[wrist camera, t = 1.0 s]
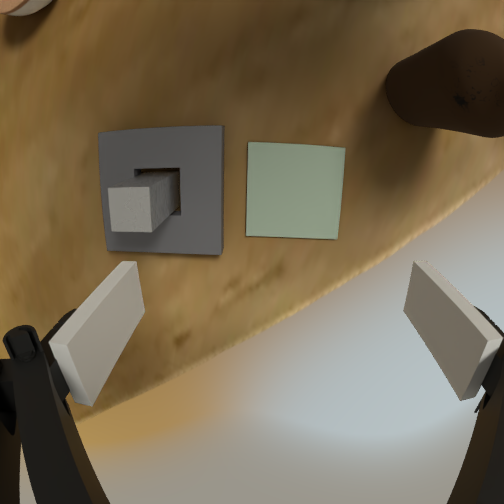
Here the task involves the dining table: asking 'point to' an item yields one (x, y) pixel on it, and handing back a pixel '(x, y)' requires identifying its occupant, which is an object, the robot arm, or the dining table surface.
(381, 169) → the dining table surface
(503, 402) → the robot arm
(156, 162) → the pocket block
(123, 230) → the metal peg
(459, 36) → the olive oil
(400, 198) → the dining table surface
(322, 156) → the green mat
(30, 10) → the lidded jar
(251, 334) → the dining table surface
